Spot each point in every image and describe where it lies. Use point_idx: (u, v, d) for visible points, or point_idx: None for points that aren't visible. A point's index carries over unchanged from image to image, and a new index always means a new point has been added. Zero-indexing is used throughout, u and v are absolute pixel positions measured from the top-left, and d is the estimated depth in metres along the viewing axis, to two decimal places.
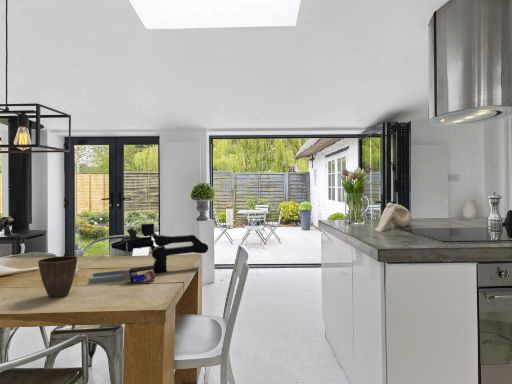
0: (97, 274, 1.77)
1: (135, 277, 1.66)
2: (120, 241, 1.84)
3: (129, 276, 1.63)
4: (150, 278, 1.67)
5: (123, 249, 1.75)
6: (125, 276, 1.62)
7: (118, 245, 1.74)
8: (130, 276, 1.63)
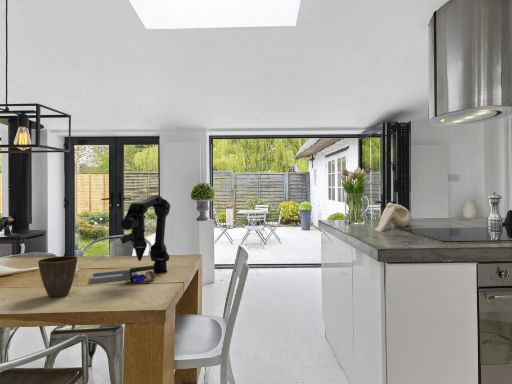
0: (97, 274, 1.77)
1: (135, 277, 1.66)
2: None
3: (129, 276, 1.63)
4: (150, 278, 1.67)
5: (143, 249, 1.62)
6: (125, 276, 1.62)
7: (138, 254, 1.62)
8: (130, 276, 1.63)
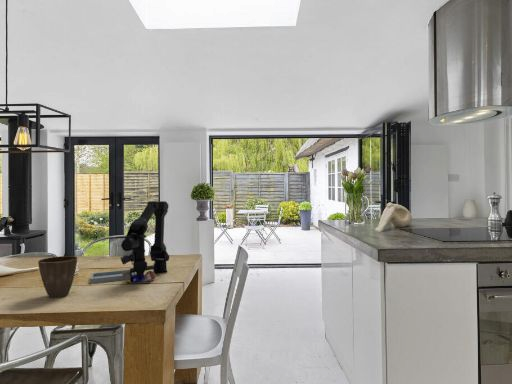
0: (97, 274, 1.77)
1: (135, 277, 1.66)
2: None
3: (129, 276, 1.63)
4: (150, 278, 1.67)
5: (143, 269, 1.63)
6: (125, 276, 1.62)
7: (138, 274, 1.63)
8: (130, 276, 1.63)
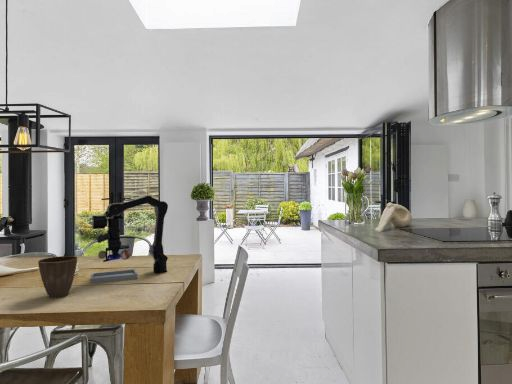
0: (97, 274, 1.77)
1: (110, 255, 1.74)
2: None
3: (104, 254, 1.71)
4: (125, 256, 1.75)
5: (118, 248, 1.71)
6: (100, 254, 1.70)
7: (113, 252, 1.71)
8: (105, 254, 1.71)
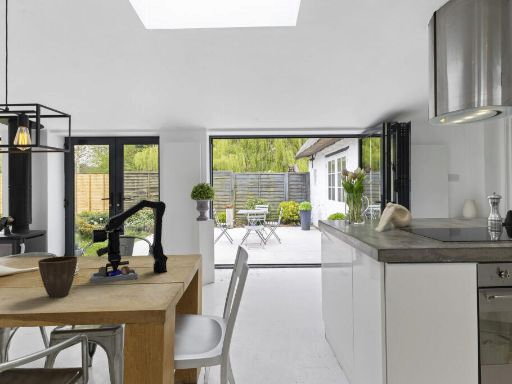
0: (97, 274, 1.77)
1: (111, 271, 1.74)
2: None
3: (104, 270, 1.71)
4: (125, 273, 1.75)
5: (118, 262, 1.70)
6: (101, 270, 1.71)
7: (113, 266, 1.70)
8: (105, 270, 1.71)
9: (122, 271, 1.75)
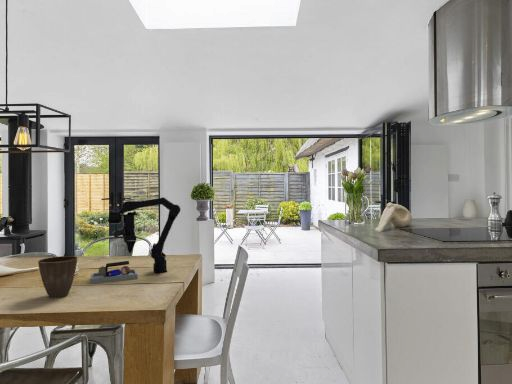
0: (97, 274, 1.77)
1: (111, 271, 1.74)
2: None
3: (104, 270, 1.71)
4: (125, 273, 1.75)
5: (133, 242, 1.81)
6: (101, 270, 1.71)
7: (129, 247, 1.81)
8: (105, 270, 1.71)
9: (122, 271, 1.75)
